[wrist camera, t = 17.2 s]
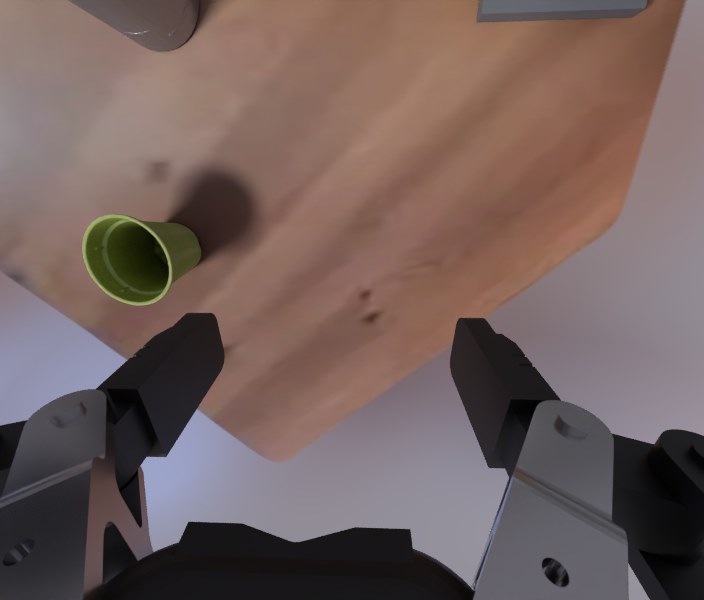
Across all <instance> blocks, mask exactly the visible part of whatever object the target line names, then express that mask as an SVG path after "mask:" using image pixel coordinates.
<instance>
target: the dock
mask: <svg viewBox="0 0 704 600" xmlns="http://www.w3.org/2000/svg"><path fill="white" fill-rule="evenodd" d="M647 1H648V0H479V5H478V13H477V22H504V21H534V20H565V19H596V18H627V17H633V16H635V15H636V14H638V13H639V12H641V11H642V10H644V9H645V8H646V5H647Z"/></svg>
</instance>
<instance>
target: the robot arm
mask: <svg viewBox="0 0 704 600" xmlns="http://www.w3.org/2000/svg"><path fill="white" fill-rule="evenodd" d="M68 1H70V2H72V3H73V4H75V5H77V6H78V7H80V8H81V9H83V10H85V11H86V12H88V13H90V14H91V15H93V16H95V17H96V18H98V19H99V20H101V21H103V22H104V23H106V24H108V25H109V26H111V27H112V28H114V29H115V30H117V31H119V32H120V33H122V34H124V35H125V36H127V37H129V38H130V39H132V40H134V41H135V42H137V43H139V44H140V45H142V46H144V47H146V48H148V49H150V50H155V51H159V52H161V51H170V50H173V49H176V48H178V47H180V46H181V45H182V44H184V43H185V42H186V41H187V39H188V38H189V37H190V36H191V34H192V32H193V30H194V28H195V25H196V22H197V18H198V12H199V0H68ZM223 364H224V349H223V345H222V340H221V336H220V332H219V327H218V323H217V319H216V317H215V315H214V314H212V313H187V314H186V315H184V316H183V317H182V318H181V319H180V320H179V321H178V322H177V323H176V324H175V325H174V326H173V327H170V328H169V329H167V330H165V331H163V332H161V333H159V334H158V335H156V336H154V337H153V338H152V339H151V340H150V341H149V342H148V343H146V344H145V345H144V346H143V349H140V350H139V351H138V352H136V353H135V354H134V355H133V358H130V359H129V360H128V361H126V362H125V363H124V364H123V365H122V366H121V367H120V368H119V369H118V370H116V371H115V372H114V373H113V374H112V375H111V376H110V377H109V378H108V379H106V380H105V381H104V382H103V383H102V384H101V385H100V386H99V387H98V388H96V389H88V390H82V391H77V392H73V393H70V394H67V395H64V396H62V397H59V398H57V399H55V400H53V401H51V402H50V403H48V404H46V405H45V406H43V407H42V408H40V409H39V410H38V411H37V412H35V413H34V414H33V415H32V416H31V417H30V418H29V419H28V420H26V421H21V422H16V423H11V424H6V425H2V426H0V600H629V597H628V596H629V595H628V563H629V565H630V567H631V568H632V570H633V572H634V573H635V575H636V577H637V578H638V580H639V582H640V583H641V585H642V587H643V588H644V590H645V592H646V594H647V595H648V597H649V599H650V600H704V436H702V435H699V434H696V433H693V432H689V431H685V430H667V431H664V432H663V433H662V434H661V435H660V437H659V438H658V440H657V441H656V443H655V444H650V443H646V442H642V441H638V440H634V439H630V438H626V437H623V436H619V435H615V434H612V433H611V432H610V430H609V429H608V427H607V426H606V425H605V424H604V423H603V422H602V421H601V420H600V419H599V418H597V417H596V416H595V415H593V414H592V413H590V412H589V411H587V410H585V409H583V408H581V407H579V406H577V405H574V404H571V403H568V402H564V401H561V400H560V398H559V397H558V396H557V395H556V393H555V392H554V391H553V390H552V388H551V387H550V386H549V385H548V383H547V382H546V381H545V380H544V378H543V377H542V376H541V375H540V373H539V372H538V371H537V370H536V368H535V367H533V366H532V363H531V362H530V361H529V360H528V358H527V357H525V354H524V353H523V352H522V351H521V349H520V348H519V347H518V346H517V344H516V343H514V342H513V341H511V340H510V339H508V338H507V337H505V336H504V335H502V334H496V333H495V332H494V330H493V329H492V328H491V326H490V325H489V324H488V322H487V321H486V320H485V319H484V318H459V319H458V321H457V324H456V330H455V335H454V340H453V346H452V351H451V357H450V368H451V374H452V377H453V380H454V382H455V385H456V387H457V390H458V392H459V395H460V397H461V400H462V402H463V405H464V407H465V410H466V412H467V415H468V417H469V420H470V422H471V425H472V427H473V430H474V432H475V435H476V437H477V440H478V442H479V445H480V447H481V450H482V452H483V455H484V457H485V460H486V462H487V465H488V467H489V468H505V469H506V471H507V474H508V476H509V480H508V482H507V485H506V488H505V491H504V494H503V497H502V500H501V503H500V505H499V508H498V511H497V514H496V517H495V520H494V523H493V526H492V529H491V531H490V535H489V538H488V540H487V543H486V546H485V549H484V552H483V554H482V557H481V560H480V563H479V565H478V568H477V571H476V574H475V577H474V579H473V582H472V585H471V587H470V586H469V585H468V584H467V583H466V582H465V581H464V580H463V579H462V578H460V577H459V576H458V575H457V574H456V573H454V572H453V571H452V570H451V569H449V568H448V567H447V566H445V565H444V564H442V563H441V562H439V561H438V560H436V559H434V558H433V557H431V556H429V555H427V554H425V553H423V552H420V551H417V550H415V549H413V548H412V540H411V532H410V529H384V528H356V527H355V528H352V529H348V530H344V531H340V532H337V533H332V534H329V535H325V536H321V537H318V538H314V539H310V540H306V541H302V542H291V541H288V540H285V539H282V538H280V537H276V536H274V535H272V534H269V533H266V532H263V531H261V530H258V529H255V528H253V527H250V526H247V525H245V524H238V523H207V522H188V524H187V526H186V529H185V531H184V533H183V535H182V537H181V540H180V541H179V543H176V544H173V545H170V546H168V547H165V548H163V549H160V550H158V551H156V552H153V549H152V546H151V541H150V536H149V527H148V516H147V506H146V497H145V486H144V475H143V471H142V468H141V466H140V465H141V464H142V462H143V461H144V460H145V458H146V457H166V456H167V455H168V453H169V452H170V450H171V448H172V447H173V445H174V444H175V442H176V440H177V439H178V437H179V436H180V434H181V433H182V431H183V430H184V428H185V426H186V425H187V423H188V422H189V420H190V418H191V417H192V415H193V414H194V412H195V411H196V409H197V408H198V406H199V404H200V403H201V401H202V400H203V398H204V397H205V395H206V393H207V392H208V390H209V389H210V387H211V386H212V384H213V382H214V381H215V379H216V378H217V376H218V375H219V373H220V371H221V370H222V367H223Z"/></svg>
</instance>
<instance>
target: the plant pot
mask: <svg viewBox="0 0 704 600" xmlns="http://www.w3.org/2000/svg"><path fill="white" fill-rule="evenodd" d="M82 251H83V257H84V261H85V264H86V266H87V269H88V272H89V273H90V275H91V277H92V278H93V279H94V281H95V282H96V283H97V284H98V285H99V287H100V288H102V289H103V290H104V291H105V292H106V293H107V294H108V295H110V296H112V297H113V298H115V299H117V300H119V301H121V302H124V303H127V304H132V305H147V304H152V303H154V302H156V301H158V300H160V299H161V298H162V297H163V296H165V294H166V293H167V292H168V291H169V289H170V287H171V285H172V283H173V282H175V281H176V280H177V279H179V278H180V277H181V276H183V275H184V274H185V273H187V272H188V271H190V270H191V269H192V268H194V267H195V266H196V265H197V264H198V263H199V261H200V258H201V248H200V245H199V242H198V238H197V237H196V235H195V234H194V233H193V232H192V231H191V230H190V229H189V228H187V227H186V226H183V225H181V224H177V223H162V222H147V221H141V220H138V219H136V218H133V217H130V216H127V215H121V214H111V215H105V216H102V217H100V218H97V219H96V220H95V221H93V222H92V223H91V224H90V226H89V227H88V228H87V230H86V232H85V235H84V238H83V244H82Z"/></svg>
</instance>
